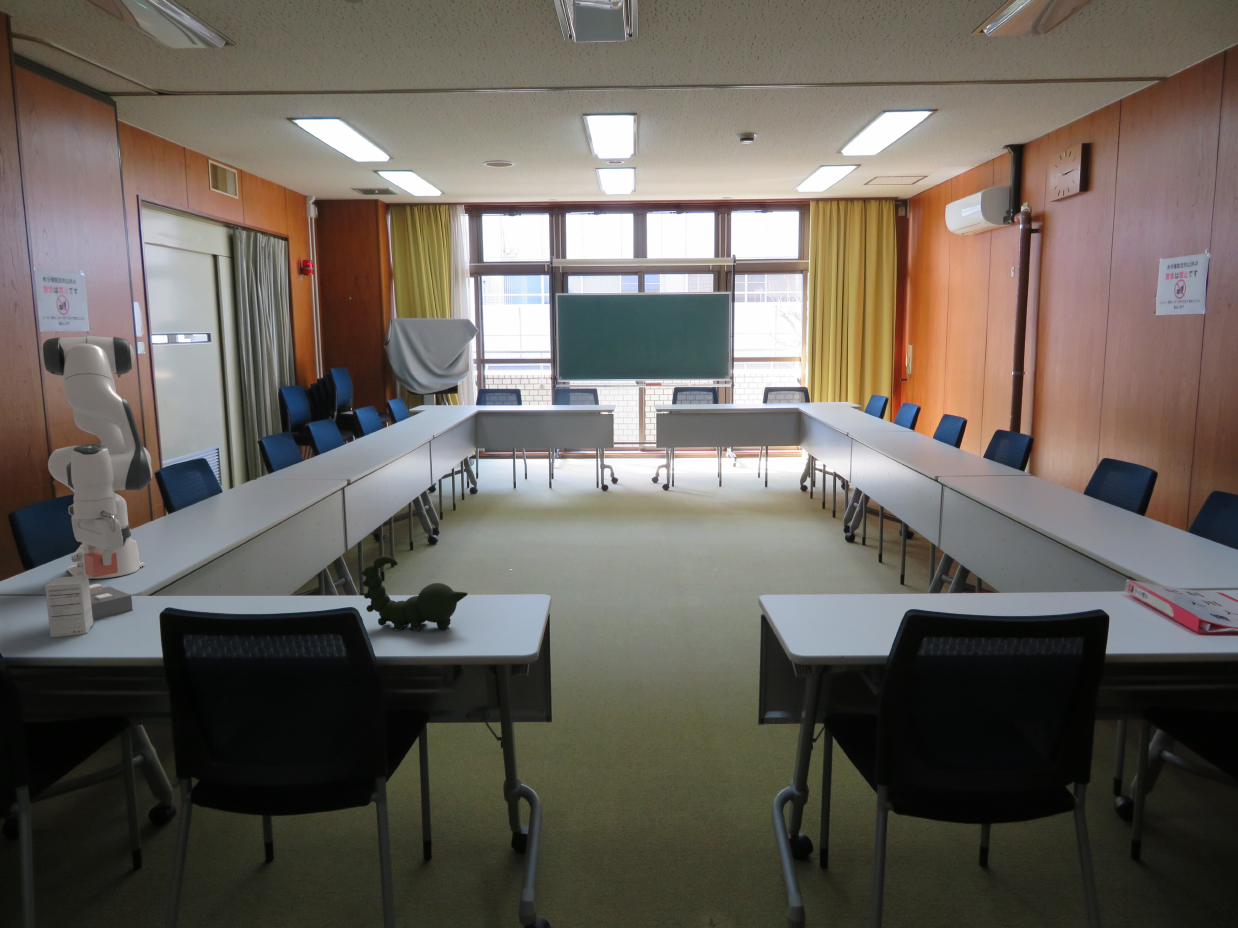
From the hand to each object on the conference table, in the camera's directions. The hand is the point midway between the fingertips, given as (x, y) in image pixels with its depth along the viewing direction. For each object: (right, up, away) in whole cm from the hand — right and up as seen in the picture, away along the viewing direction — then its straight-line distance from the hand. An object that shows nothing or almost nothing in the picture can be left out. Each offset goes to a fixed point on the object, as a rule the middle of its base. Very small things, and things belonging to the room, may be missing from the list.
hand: (100, 562), depth 202 cm
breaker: (-5, -11, +5) cm, 13 cm away
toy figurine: (+83, -15, -9) cm, 85 cm away
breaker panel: (-3, -13, +4) cm, 14 cm away
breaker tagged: (0, -13, +2) cm, 13 cm away
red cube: (0, -3, 0) cm, 3 cm away
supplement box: (0, -15, -11) cm, 19 cm away
